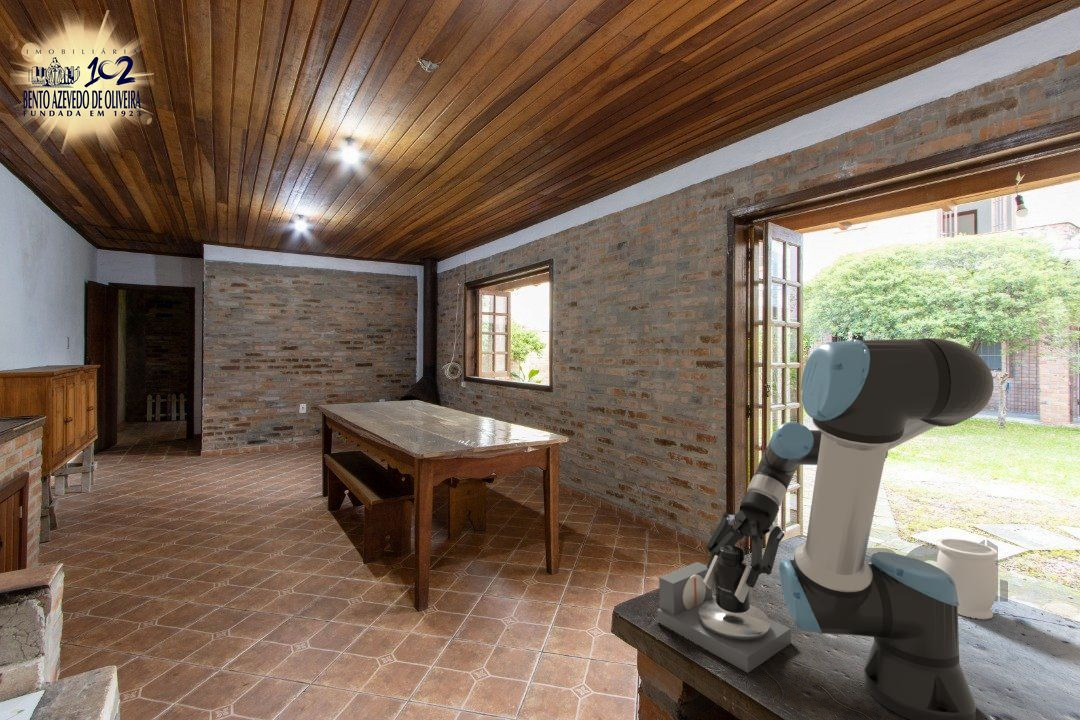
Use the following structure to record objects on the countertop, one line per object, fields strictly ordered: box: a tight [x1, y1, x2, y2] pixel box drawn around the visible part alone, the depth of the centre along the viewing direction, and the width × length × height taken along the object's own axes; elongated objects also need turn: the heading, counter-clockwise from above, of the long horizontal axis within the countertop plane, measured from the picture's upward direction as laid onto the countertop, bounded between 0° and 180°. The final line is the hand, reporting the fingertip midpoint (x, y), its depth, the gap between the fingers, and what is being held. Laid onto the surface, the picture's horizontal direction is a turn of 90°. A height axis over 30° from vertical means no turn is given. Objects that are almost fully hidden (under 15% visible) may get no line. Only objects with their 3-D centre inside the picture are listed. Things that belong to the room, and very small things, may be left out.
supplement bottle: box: [714, 545, 751, 613], centre depth 100 cm, size 7×7×12 cm
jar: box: [936, 538, 999, 620], centre depth 109 cm, size 11×10×15 cm
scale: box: [656, 561, 792, 674], centre depth 102 cm, size 22×16×10 cm
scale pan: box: [699, 599, 770, 640], centre depth 100 cm, size 14×14×1 cm
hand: (722, 591), depth 98 cm, fingers closed on supplement bottle, 7 cm apart
